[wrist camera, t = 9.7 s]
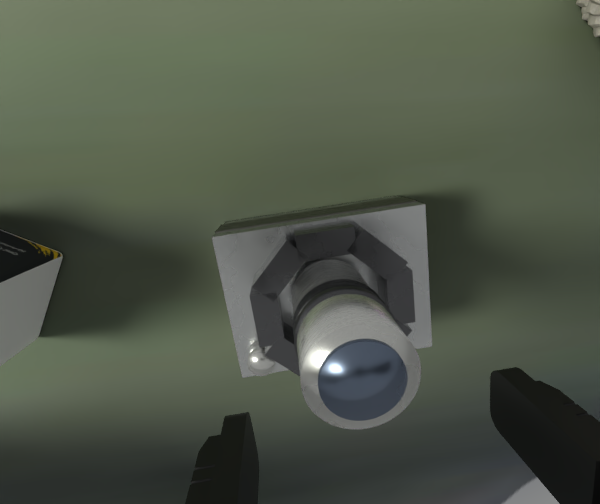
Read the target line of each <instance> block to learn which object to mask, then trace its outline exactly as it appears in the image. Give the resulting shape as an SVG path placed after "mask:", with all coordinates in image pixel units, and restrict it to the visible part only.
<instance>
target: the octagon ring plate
mask: <svg viewBox="0 0 600 504" xmlns="http://www.w3.org/2000/svg"><path fill="white" fill-rule="evenodd" d="M212 240H213V245H214V250H215V254H216V259H217V263H218V268H219V273H220V277H221V282H222V286H223V291H224V295H225V300H226V305H227V309H228V314H229V318H230V323H231V328H232V332H233V337H234V341H235V346H236V350H237V355H238V360H239V364H240V369H241V373H242V378H244V377H250V376H256V375H257V376H265V375H268V374H270V373H274V372H280V371H286V370H290V371H292V372H294V373H295V374H297V375H299V376H300V370H299V361H298V358H297V356H296V352H295V345H294V334H293V318H294V315H293V306H292V289H293V285H294V282H295V280H296V278H297V277H298V275H299V274H300V273H301V272H302V271H303V270H304V269H305V268H306V267H308V266H309V265H311V264H313V263H315V262H318V261H321V260H328V259H334V260H340V261H343V262H346V263H348V264H349V265H351V266H353V267H354V268H355V269H356V270H357V271H358V272H359V273H360V275H361V276H362V277H363V279H364V280H365V281H366V283H367V284H368V285H369V287H370V288H371V289H373V290H374V291H375V292H376V293H377V294H378V295H379V297H380V298H381V299H382V301H383V302H384V303H385V304H386V306H387V307H388V308H389V310H390V311H391V313H392V314H393V316H394V318H395V320H396V323H397V324H398V326H399V327H400V328H401V330H402V331H403V332H404V334H405V335H406V336H407V338H408V339H409V340H410V342H411V343H412V345H413V346H414V348H415V349H419V348H425V347H431V346H432V334H431V313H430V291H429V270H428V249H427V228H426V207H425V204H423V203H419V202H417V200H413V199H409V198H406V197H398V196H390V197H384V198H377V199H371V200H364V201H358V202H351V203H345V204H338V205H332V206H325V207H319V208H312V209H306V210H299V211H293V212H286V213H280V214H273V215H267V216H260V217H254V218H247V219H241V220H234V221H228V222H225V223H224V224H222V225H221V226H220V227H219V228H218V229H217V230H216V231H215V234H214V235H213V236H212Z"/></svg>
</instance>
